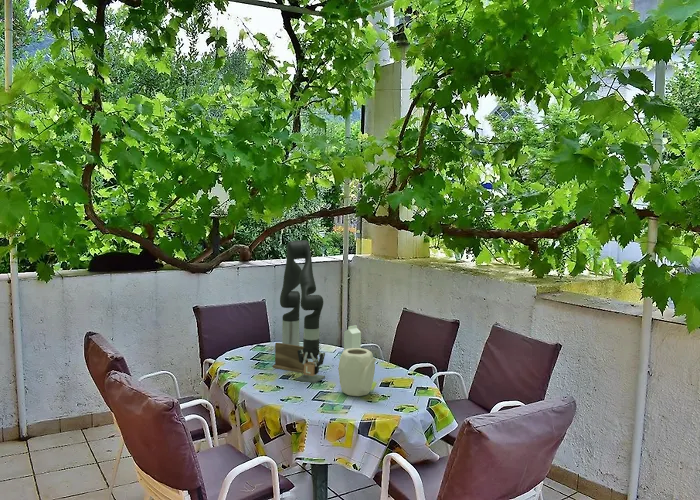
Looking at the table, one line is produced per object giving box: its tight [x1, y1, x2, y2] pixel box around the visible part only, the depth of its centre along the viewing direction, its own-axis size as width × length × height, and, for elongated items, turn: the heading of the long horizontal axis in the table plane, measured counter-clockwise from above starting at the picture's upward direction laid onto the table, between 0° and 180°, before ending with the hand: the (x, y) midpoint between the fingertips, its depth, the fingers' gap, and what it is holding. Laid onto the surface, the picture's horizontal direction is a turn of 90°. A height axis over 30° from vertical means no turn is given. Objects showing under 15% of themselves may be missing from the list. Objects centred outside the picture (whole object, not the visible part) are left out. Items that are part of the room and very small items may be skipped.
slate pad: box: [295, 374, 326, 384], centre depth 279 cm, size 10×10×1 cm
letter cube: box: [303, 360, 319, 376], centre depth 278 cm, size 5×5×5 cm
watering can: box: [337, 347, 377, 397], centre depth 259 cm, size 16×27×19 cm, turn 31°
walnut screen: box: [272, 342, 305, 374], centre depth 293 cm, size 6×18×12 cm, turn 65°
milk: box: [343, 324, 362, 351], centre depth 295 cm, size 6×6×22 cm
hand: (310, 372), depth 279 cm, fingers closed on letter cube, 5 cm apart
